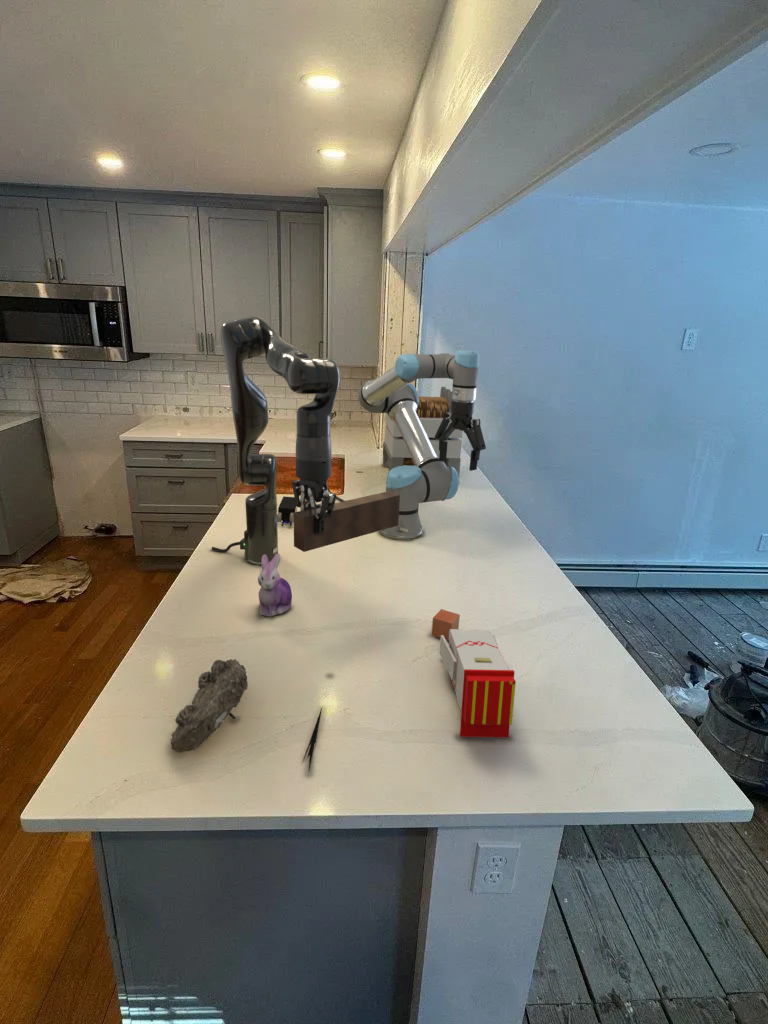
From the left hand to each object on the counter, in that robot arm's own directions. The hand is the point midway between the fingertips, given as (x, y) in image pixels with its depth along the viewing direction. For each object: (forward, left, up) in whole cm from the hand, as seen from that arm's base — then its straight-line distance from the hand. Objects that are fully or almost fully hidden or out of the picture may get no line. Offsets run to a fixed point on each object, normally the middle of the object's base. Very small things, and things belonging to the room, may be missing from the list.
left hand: (313, 530), depth 126 cm
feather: (+11, -26, -28) cm, 40 cm away
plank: (+6, +8, -4) cm, 11 cm away
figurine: (-14, +10, -28) cm, 33 cm away
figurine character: (-35, +70, -28) cm, 83 cm away
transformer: (-2, +152, -28) cm, 154 cm away
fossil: (-8, -31, -28) cm, 43 cm away
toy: (+38, -9, -28) cm, 48 cm away
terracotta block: (+30, +11, -28) cm, 42 cm away
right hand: (+24, +73, -1) cm, 77 cm away
